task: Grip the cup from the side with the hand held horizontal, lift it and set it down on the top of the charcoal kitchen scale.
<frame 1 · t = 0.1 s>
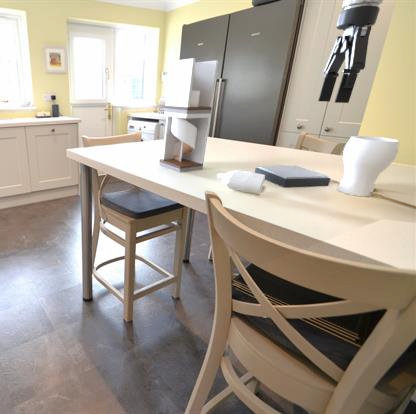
hand: (331, 102, 76), 24 cm above the table, tool pointing down, fingers open, 13 cm apart
scale: (288, 179, 91), on the table
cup: (353, 192, 81), on the table
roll: (236, 190, 81), on the table
white wooden shelf unit: (180, 167, 105), on the table
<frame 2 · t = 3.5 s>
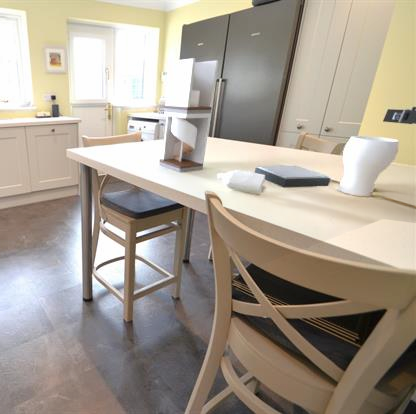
nothing on the table moved.
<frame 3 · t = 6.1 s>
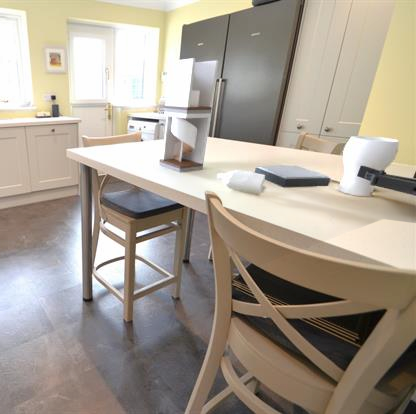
hand: (388, 171, 71), 8 cm above the table, tool horizontal, fingers open, 13 cm apart
nothing on the table moved.
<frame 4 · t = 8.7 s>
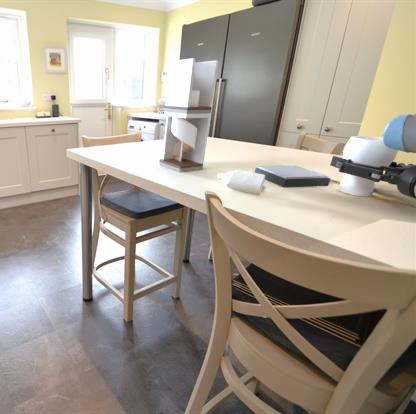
hand: (353, 161, 81), 8 cm above the table, tool horizontal, fingers closed on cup, 11 cm apart
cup: (353, 192, 81), on the table, touching gripper
everything else where it was.
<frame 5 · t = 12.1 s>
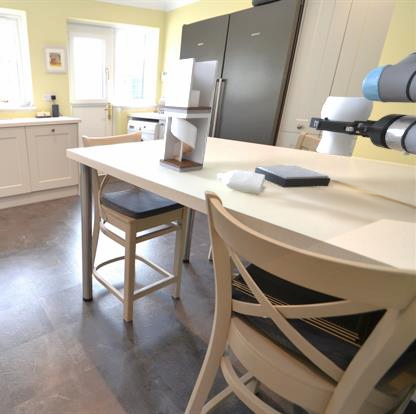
hand: (331, 122, 83), 18 cm above the table, tool horizontal, fingers closed on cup, 11 cm apart
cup: (332, 153, 82), point 10 cm above the table, touching gripper
everything else where it was.
when the fingers open (11 cm above the table, at t = 15.8 s): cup stays where it is, resting on scale.
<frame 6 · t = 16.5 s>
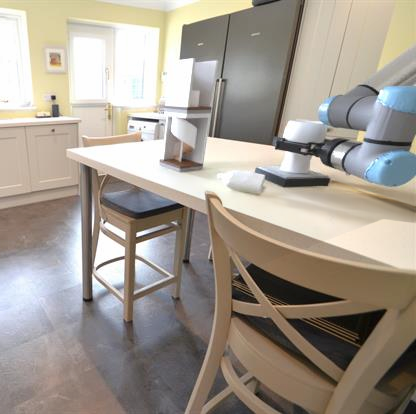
hand: (295, 141, 90), 12 cm above the table, tool horizontal, fingers open, 13 cm apart
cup: (294, 171, 90), point 3 cm above the table, touching scale
everything else where it was.
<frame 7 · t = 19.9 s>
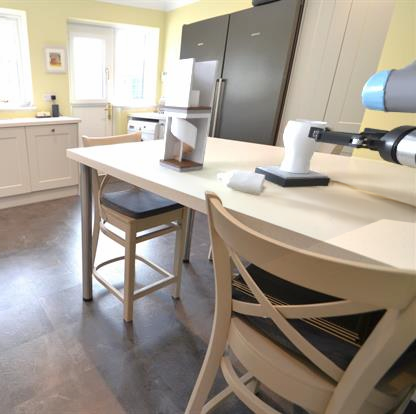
hand: (337, 132, 74), 16 cm above the table, tool horizontal, fingers open, 13 cm apart
nothing on the table moved.
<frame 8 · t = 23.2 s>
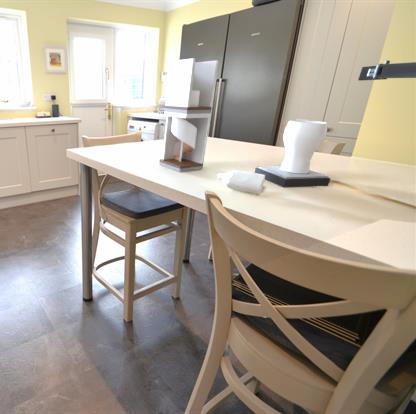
hand: (393, 74, 63), 30 cm above the table, tool horizontal, fingers open, 13 cm apart
nothing on the table moved.
at the end: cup inside the target area on the scale (0.0 cm from its centre), point 2.8 cm above the scale's base; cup tilted 0°; the gripper is holding nothing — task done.
